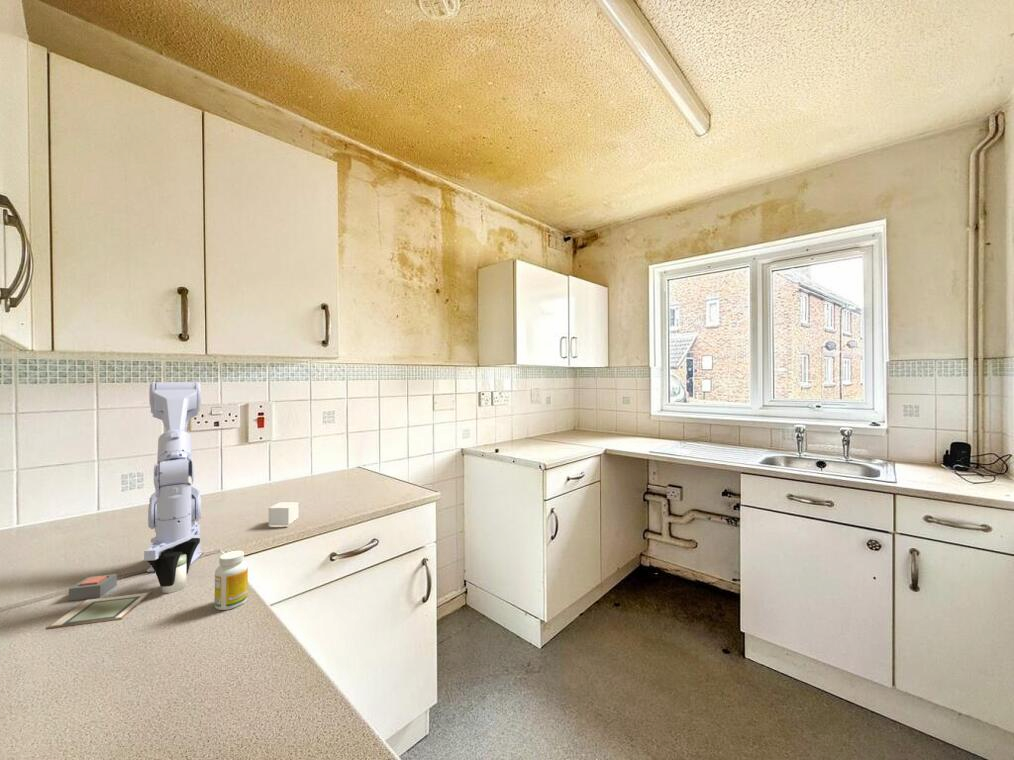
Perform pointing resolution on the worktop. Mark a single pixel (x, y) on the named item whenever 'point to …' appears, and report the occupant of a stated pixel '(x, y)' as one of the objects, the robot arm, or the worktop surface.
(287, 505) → the white cube
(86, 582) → the button
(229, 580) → the supplement bottle
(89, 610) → the picture board
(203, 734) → the worktop surface
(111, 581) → the button housing
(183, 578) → the green and cream cylinder
